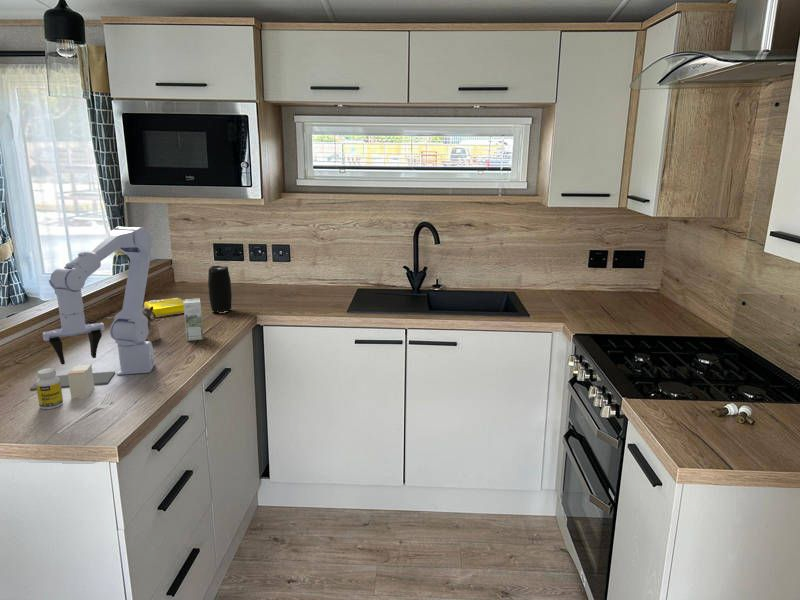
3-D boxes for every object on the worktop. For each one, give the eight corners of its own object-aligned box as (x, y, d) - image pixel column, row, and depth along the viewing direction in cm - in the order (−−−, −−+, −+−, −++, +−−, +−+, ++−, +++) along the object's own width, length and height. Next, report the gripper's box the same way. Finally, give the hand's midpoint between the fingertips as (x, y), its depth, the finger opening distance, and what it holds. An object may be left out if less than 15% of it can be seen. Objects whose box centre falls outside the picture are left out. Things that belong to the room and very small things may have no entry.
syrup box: (203, 335, 210) (199, 297, 206) (203, 340, 204) (200, 301, 201) (186, 337, 208) (183, 298, 204) (186, 342, 202) (183, 302, 199)
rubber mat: (115, 372, 173) (115, 371, 173) (107, 383, 164) (107, 382, 164) (42, 378, 168) (41, 376, 168) (30, 390, 160) (30, 388, 160)
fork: (51, 436, 135) (50, 429, 134) (106, 400, 154) (105, 393, 153) (63, 437, 134) (62, 430, 134) (117, 401, 153) (116, 394, 153)
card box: (94, 387, 162) (91, 363, 160) (87, 397, 155) (84, 372, 153) (79, 389, 161) (75, 365, 159) (71, 398, 154) (67, 373, 152)
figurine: (136, 338, 206) (132, 307, 203) (156, 335, 210) (153, 303, 207) (142, 343, 200) (138, 311, 198) (162, 339, 205) (159, 307, 202)
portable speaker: (236, 310, 245) (233, 265, 241) (222, 315, 237) (219, 269, 232) (220, 308, 248) (217, 264, 244) (206, 313, 240) (202, 268, 235)
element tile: (152, 319, 233) (151, 308, 232) (143, 311, 245) (142, 300, 243) (189, 313, 242) (188, 302, 240) (179, 306, 253) (178, 296, 252)
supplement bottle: (40, 411, 146) (34, 376, 144) (38, 404, 150) (33, 369, 148) (64, 406, 149) (59, 371, 147) (62, 399, 153) (57, 365, 151)
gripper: (97, 305, 160) (103, 351, 163) (37, 314, 151) (45, 362, 154) (104, 310, 155) (110, 357, 158) (43, 319, 145) (50, 369, 149)
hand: (78, 360), depth 156 cm, fingers open, 7 cm apart
